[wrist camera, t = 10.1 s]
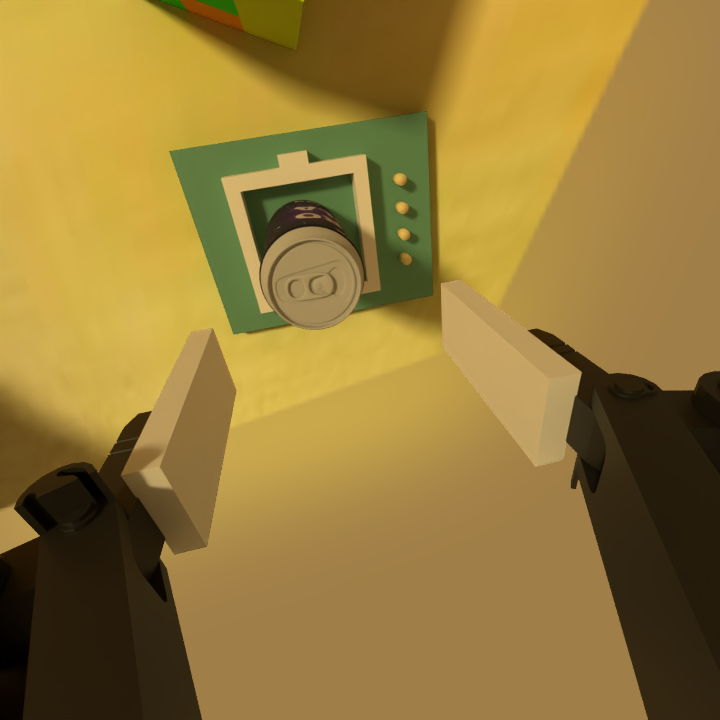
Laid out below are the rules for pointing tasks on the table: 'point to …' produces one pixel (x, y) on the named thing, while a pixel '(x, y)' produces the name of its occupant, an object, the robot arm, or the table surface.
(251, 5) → the puzzle toy
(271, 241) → the beverage can
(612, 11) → the table surface
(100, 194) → the table surface
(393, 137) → the header board
